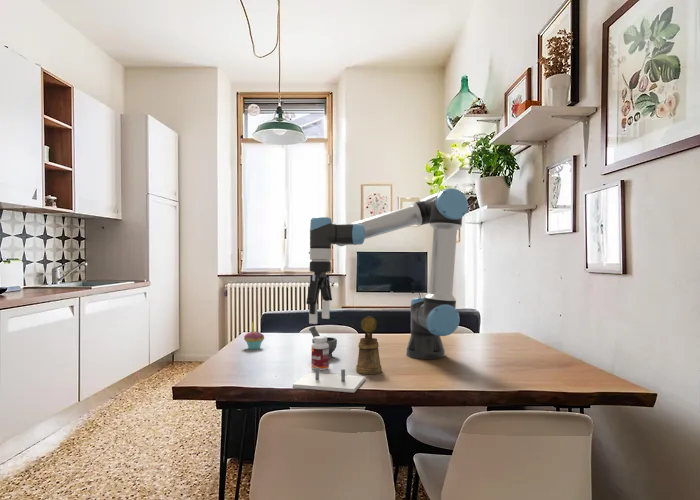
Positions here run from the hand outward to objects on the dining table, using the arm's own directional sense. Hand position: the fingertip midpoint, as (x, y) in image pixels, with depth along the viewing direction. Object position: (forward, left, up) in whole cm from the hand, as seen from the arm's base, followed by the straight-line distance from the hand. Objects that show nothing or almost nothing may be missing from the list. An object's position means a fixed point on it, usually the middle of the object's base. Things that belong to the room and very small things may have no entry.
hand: (319, 321), depth 155 cm
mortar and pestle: (+5, -18, -17) cm, 25 cm away
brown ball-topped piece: (-17, -3, -17) cm, 24 cm away
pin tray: (-9, +17, -17) cm, 25 cm away
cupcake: (+39, -26, -17) cm, 50 cm away
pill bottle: (0, 0, -17) cm, 17 cm away
